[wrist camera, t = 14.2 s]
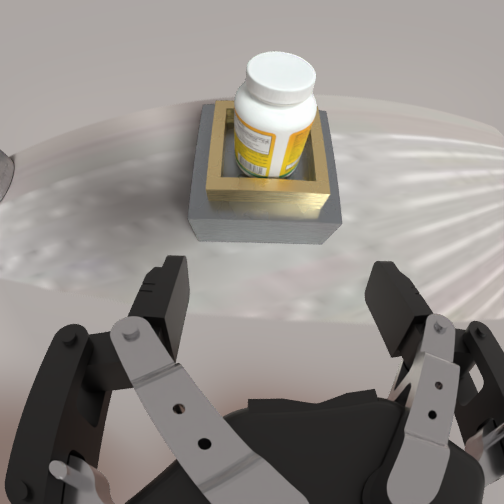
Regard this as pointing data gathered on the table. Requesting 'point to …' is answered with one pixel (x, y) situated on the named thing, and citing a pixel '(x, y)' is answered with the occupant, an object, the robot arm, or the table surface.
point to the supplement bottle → (273, 114)
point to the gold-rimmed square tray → (261, 188)
